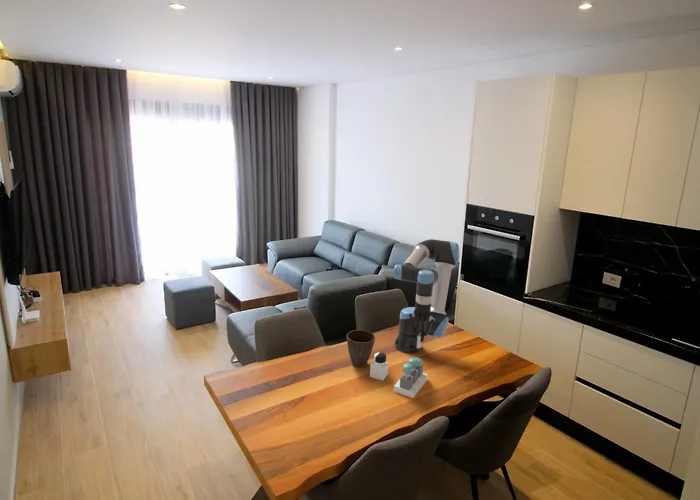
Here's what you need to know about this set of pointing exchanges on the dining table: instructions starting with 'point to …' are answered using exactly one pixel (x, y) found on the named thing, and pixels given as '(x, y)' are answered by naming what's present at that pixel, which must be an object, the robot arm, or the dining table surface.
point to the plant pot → (360, 346)
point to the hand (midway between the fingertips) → (419, 346)
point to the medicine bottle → (379, 367)
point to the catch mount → (411, 383)
